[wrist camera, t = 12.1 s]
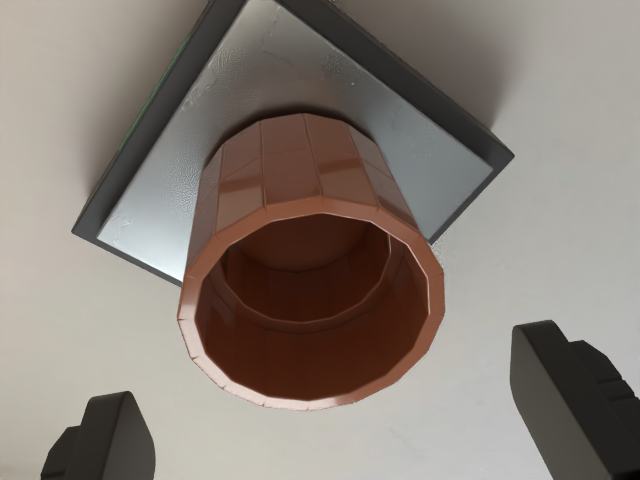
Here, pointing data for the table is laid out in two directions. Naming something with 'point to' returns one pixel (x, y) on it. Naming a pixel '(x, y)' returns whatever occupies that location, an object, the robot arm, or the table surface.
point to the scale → (338, 28)
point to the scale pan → (276, 101)
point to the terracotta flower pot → (306, 268)
